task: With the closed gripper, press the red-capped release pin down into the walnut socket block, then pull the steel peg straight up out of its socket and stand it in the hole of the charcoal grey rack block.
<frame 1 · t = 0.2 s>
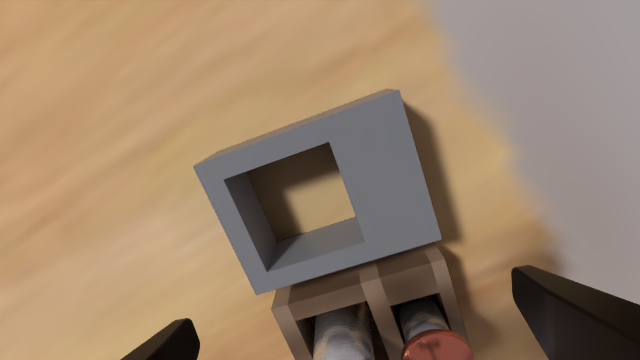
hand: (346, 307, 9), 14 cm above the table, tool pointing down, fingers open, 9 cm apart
release pin: (428, 338, 20), point 5 cm above the table, slide at 0.0 cm
peg: (341, 311, 25), resting in socket block
socket block: (368, 303, 25), on the table
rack: (322, 182, 22), on the table
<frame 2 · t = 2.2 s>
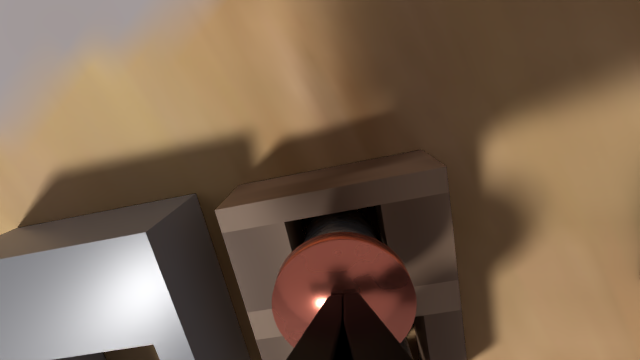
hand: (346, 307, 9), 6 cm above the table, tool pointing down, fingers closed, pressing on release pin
release pin: (341, 267, 11), point 4 cm above the table, slide at 0.9 cm, touching gripper
socket block: (352, 287, 15), on the table
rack: (148, 319, 16), on the table
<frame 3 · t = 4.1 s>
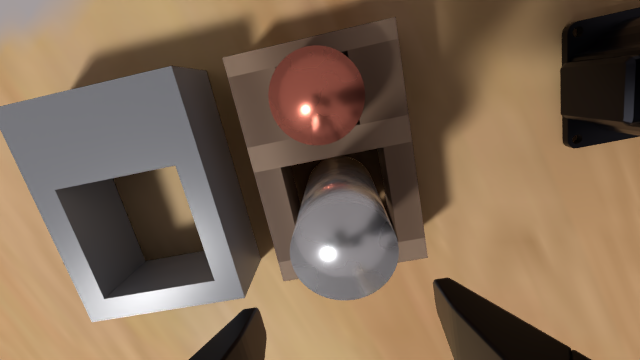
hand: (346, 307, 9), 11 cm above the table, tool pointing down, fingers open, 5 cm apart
release pin: (318, 96, 15), point 3 cm above the table, slide at 1.8 cm
peg: (339, 188, 19), resting in socket block
socket block: (332, 153, 19), on the table
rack: (166, 186, 20), on the table
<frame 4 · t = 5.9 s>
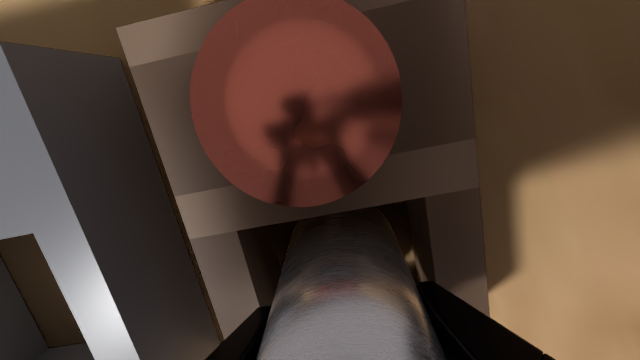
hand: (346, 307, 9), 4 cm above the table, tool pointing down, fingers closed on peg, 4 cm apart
release pin: (304, 102, 8), point 3 cm above the table, slide at 1.8 cm
peg: (342, 246, 12), resting in socket block, touching gripper
socket block: (331, 193, 12), on the table
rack: (70, 241, 13), on the table
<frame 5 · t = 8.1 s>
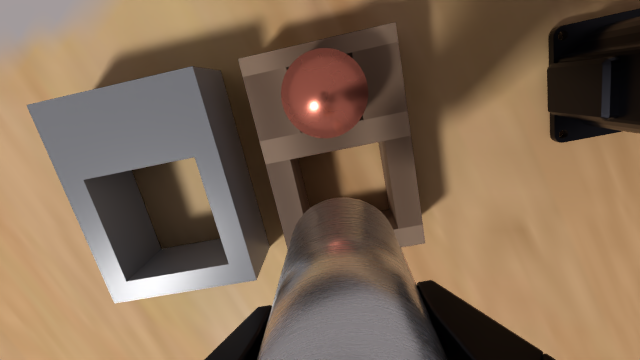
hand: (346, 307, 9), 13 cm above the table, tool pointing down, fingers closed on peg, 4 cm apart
release pin: (325, 94, 17), point 3 cm above the table, slide at 1.8 cm
peg: (343, 246, 12), point 9 cm above the table, touching gripper
socket block: (337, 147, 20), on the table
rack: (182, 178, 21), on the table
when the fingers open (5 cm above the table, at t = 10.7 s): peg drops 2 cm, resting in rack.
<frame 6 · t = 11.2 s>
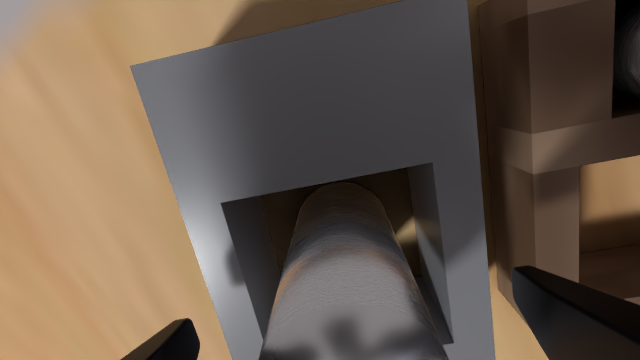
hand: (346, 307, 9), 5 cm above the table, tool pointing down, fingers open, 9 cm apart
peg: (342, 225, 14), resting in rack
socket block: (592, 145, 13), on the table
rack: (333, 193, 14), on the table
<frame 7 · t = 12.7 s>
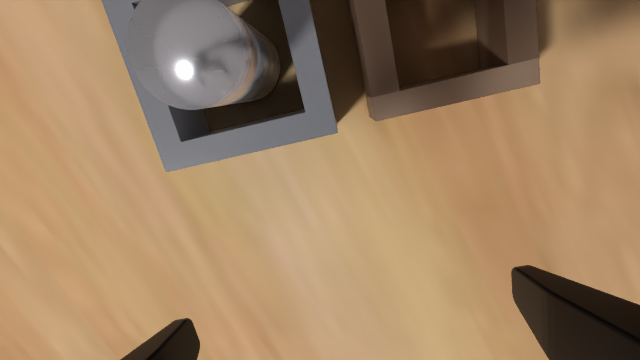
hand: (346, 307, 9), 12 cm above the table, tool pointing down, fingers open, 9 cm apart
peg: (245, 65, 19), resting in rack
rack: (237, 38, 18), on the table
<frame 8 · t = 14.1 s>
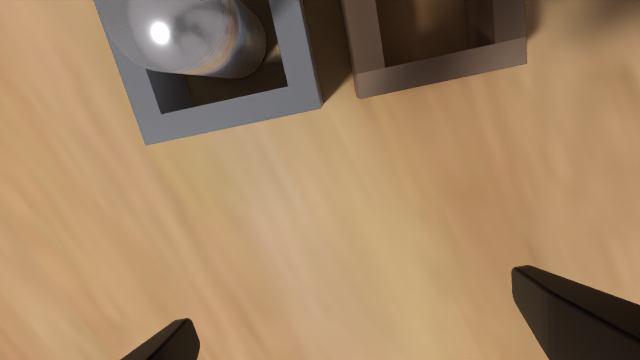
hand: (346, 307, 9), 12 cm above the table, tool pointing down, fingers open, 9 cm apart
peg: (231, 42, 18), resting in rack
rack: (223, 13, 18), on the table
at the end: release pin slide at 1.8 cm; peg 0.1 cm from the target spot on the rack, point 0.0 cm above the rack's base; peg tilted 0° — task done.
